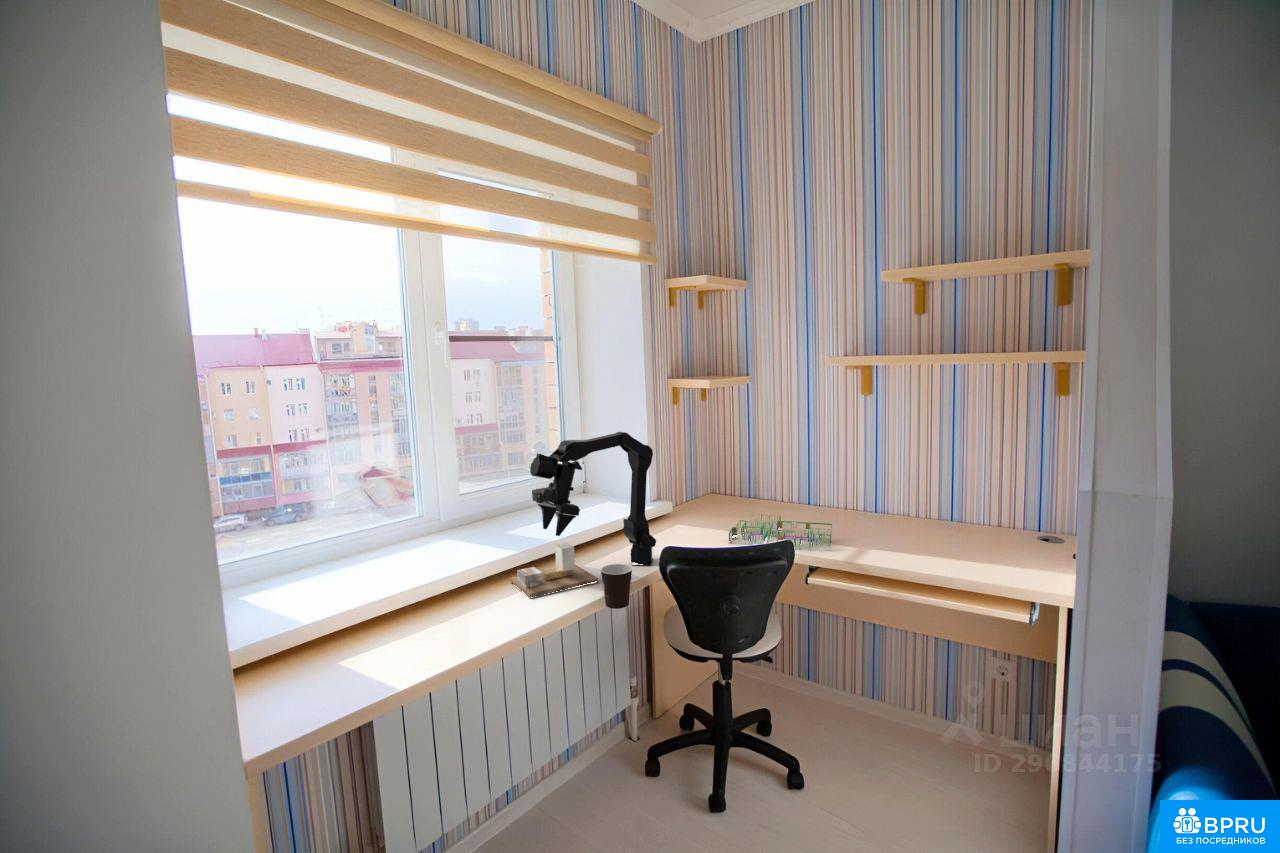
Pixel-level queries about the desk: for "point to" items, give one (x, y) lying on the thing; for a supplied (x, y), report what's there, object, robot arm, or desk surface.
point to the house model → (779, 524)
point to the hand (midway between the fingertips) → (551, 532)
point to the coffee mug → (616, 585)
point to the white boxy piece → (561, 562)
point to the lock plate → (549, 581)
